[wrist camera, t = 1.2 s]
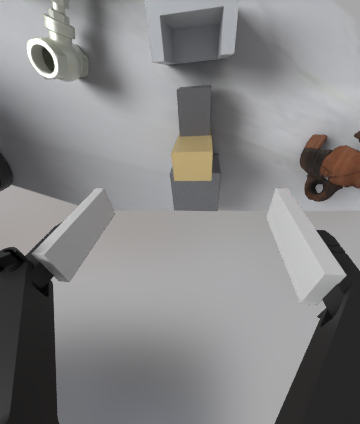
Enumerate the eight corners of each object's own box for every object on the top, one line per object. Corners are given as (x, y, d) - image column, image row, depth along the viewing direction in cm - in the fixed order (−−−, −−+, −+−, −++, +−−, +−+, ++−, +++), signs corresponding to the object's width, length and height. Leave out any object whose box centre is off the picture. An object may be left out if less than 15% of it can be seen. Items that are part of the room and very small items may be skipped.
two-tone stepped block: (185, 193, 34) (179, 228, 26) (178, 87, 23) (165, 95, 15) (208, 193, 33) (208, 229, 25) (212, 84, 22) (215, 91, 15)
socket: (166, 64, 23) (152, 62, 17) (162, 15, 20) (142, -10, 14) (226, 58, 22) (234, 53, 16) (230, 5, 19) (241, -27, 13)
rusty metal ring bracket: (321, 111, 25) (399, 115, 18) (346, 130, 29) (415, 139, 23) (276, 187, 30) (326, 210, 23) (304, 193, 34) (351, 214, 28)
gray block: (179, 188, 35) (174, 210, 30) (176, 155, 31) (169, 173, 25) (215, 188, 34) (217, 210, 29) (218, 154, 30) (220, 173, 24)
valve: (99, 89, 26) (105, -38, 18) (73, 93, 21) (67, -79, 13) (54, 69, 25) (42, -73, 17) (16, 68, 20) (-25, -132, 12)
